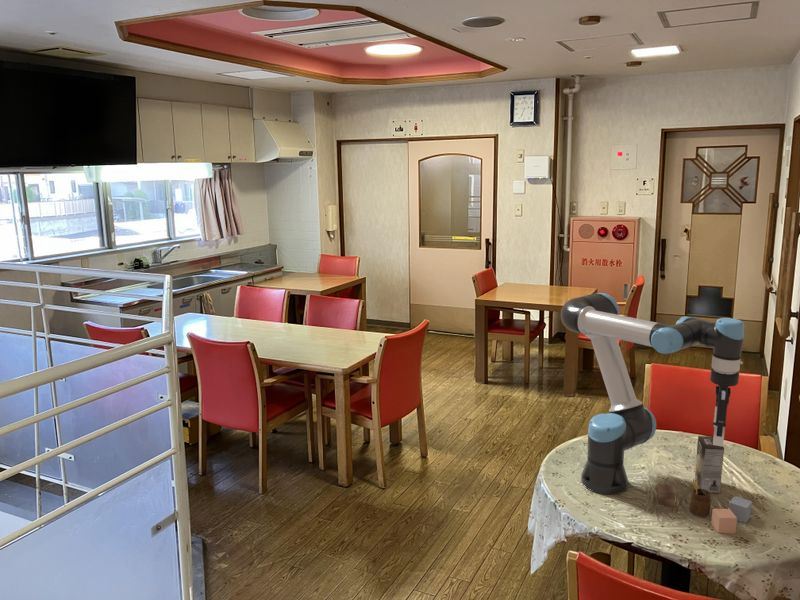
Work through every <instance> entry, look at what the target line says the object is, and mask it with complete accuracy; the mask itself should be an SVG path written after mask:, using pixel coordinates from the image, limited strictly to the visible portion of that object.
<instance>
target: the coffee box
mask: <svg viewBox="0 0 800 600" xmlns="http://www.w3.org/2000/svg"><path fill="white" fill-rule="evenodd" d="M713 438H714V436H711V435H710V436H709V435H708V436H707V435H698V436H697V446H696V448H697V449H696V458H695V470H694V471H695V472H694V481H695V480H696V481H697V482H698V488H701V489H705V490H707V491H709V492H710V493H714V494H715V493H716V494H718V493H719V494H720V493H721V484H722V475H723V465H724V458H725V457H724V455H725V447H724V445H723V446H717V445H713ZM704 479H705V480H704ZM707 479H709V480H707ZM706 480H707V481H708V482H707V481H706ZM703 481H704V482H703ZM709 481H710V482H709ZM702 482H703V483H702ZM705 484H706V485H705ZM710 484H711V485H710ZM708 485H710V486H708ZM707 488H708V489H709V490H708V489H707Z"/></svg>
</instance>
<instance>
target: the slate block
mask: <svg viewBox="0 0 800 600" xmlns="http://www.w3.org/2000/svg"><path fill="white" fill-rule="evenodd" d="M752 506H753V501H752V500H749V499H745V498H742V497H740V496H733V497H732V498H731V500H730V501H729V502H728V509H730V510H731V511H732V512H733V514H734V515H735V516H736V517H737V522H741V523H744V524H746V523H747V522H748V521H749V519H750V518H751V515H752V514H751V513H752Z"/></svg>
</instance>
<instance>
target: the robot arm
mask: <svg viewBox="0 0 800 600" xmlns="http://www.w3.org/2000/svg"><path fill="white" fill-rule="evenodd" d="M560 319H561V323H562V325H563V326H564V327H565V328H566V329H567V330H569V331H571V332H572V333H573V332H574V333H578V334H581V335H584V336H585V337H586V338H589V339H590V341H591V344H592V348H593V350H594V354H595V357H596V361H597V363H598V366H599V370H600V372H601V377H602V380H603V382H604V385H605V388H606V391H607V395H608V398H609V402H610V405H611V406H610V408H609V409H608V412H607V413H603V412H602V413H599V414H596V415H594V416H593V417H591V419H590V420H589V423H588V424H589V425H588V429H587V434H588V435H587V438H588V439H587V460H586V462H585V464H584V468H583V469H582V472H581V476H580V477H581V478H580V482H581V481H582V482H581V484H582V483H583V484H584V485H585V486H586V487H587V488H589V489H591V490H593V491H592V492H594V491H595V492H594V493H597V494H602V495H617V494H620V493H621V494H622V493H623V492H625V491H626V490H627V489H628V487H629V486H628V485H629V480H628V479H629V478H628V475H627V472H626V469H625V465H624V461H625V459H624V457H625V451H627V450H629V449H632V448H634V447H637V446H639V445H643V444H645V443H647V442H648V441H649V440H651V439H653V437H654V435H655V434H656V431H657V419H656V417H655V415H654V414H653V413H652V411H650V410H649V409H648V408H647V407H645V406H644V403H643V401H641V400H640V399H637V397H636V394H635V390H634V387H633V385H632V382H631V381H632V380H631V377H630V375H629V371H628V368H627V365H626V362H625V359H624V356H623V353H622V350H621V346H620V343H619V342H618V341H619V340H620V341H625V342H630V343H634V344H638V345H642V346H647V347H651V348H653V349H654V350H655V351H657V352H658V353H660V354H663V355H666V354H673V353H677V352H679V351H681V350H683V349H686V348H691V347H693V346H696V345H700V346H704V347H708V348H712V351H713V352H712V357H711V368H712V369H710V379H709V380H710V381H711V383H713V384H715V385H716V386H715V407H714V414H713V415H714V417H713V422H712V426H713V428H714V430H713V431H714V432H713V437H714V438H713V445H717V446H723V447H724V439H725V431H726V427H727V424H726V423H727V422H726V421H727V412H728V405H729V402H730V397H731V387H736V386H737V385H738V384H739V378H740V370H741V369H740V367H741V365H743V364H744V362H743V361H742V360H741V359H742V351H743V345H744V344H743V343H744V338H745V323H744V321H742V320H740V319H738V318H733V317H732V318H731V317H721V318H718V319H716V322H713V321H708V320H704V319H701V318H700V319H699V318H697V317H694V316H686V315H685V316H682V317H680V318H679V320H677V321H676V323H675V324H673V325H671V324H665V323H660V322H657V321H656V322H655V321H651V320H645V319H641V318H635V317H630V316H626V315H622V314H621V315H620V307H619V304H618V302H617V301H616V299H615V298H614V297H613V296H611V295H609V294H608V293H603V292H597V293H591V294H587V295H583V296H582V295H581V296H578V297H573V298H570V299H569V300H566V302H565V303H564V304H563V305H562V308H561V310H560ZM583 484H582V485H583ZM584 485H583V486H584ZM585 486H584V487H585ZM586 487H585V488H586ZM587 488H586V489H587ZM589 489H588V490H589ZM591 490H590V491H591Z"/></svg>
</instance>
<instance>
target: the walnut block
mask: <svg viewBox="0 0 800 600" xmlns="http://www.w3.org/2000/svg"><path fill="white" fill-rule="evenodd" d="M676 495H677V493H676V487H675V485H673V484H672V485H671V484H662V483H657V492H656V502H657V506H659V507H666V508H667V507H668V508H675V507H676Z"/></svg>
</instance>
